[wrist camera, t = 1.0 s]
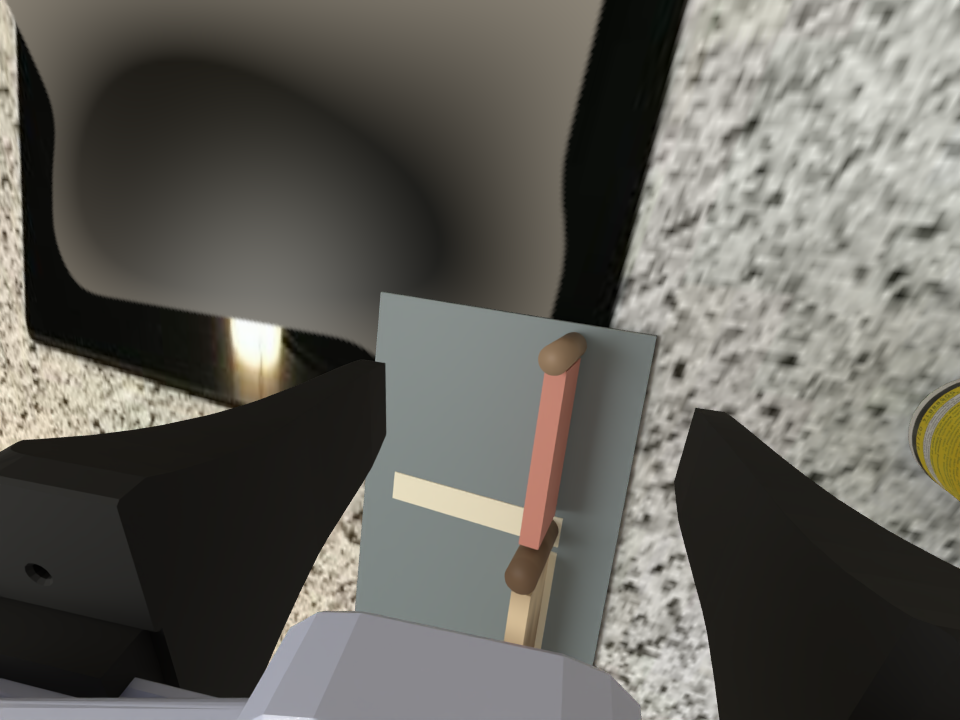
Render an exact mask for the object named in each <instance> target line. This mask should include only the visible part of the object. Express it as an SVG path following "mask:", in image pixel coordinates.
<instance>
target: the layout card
mask: <svg viewBox="0 0 960 720" xmlns="http://www.w3.org/2000/svg"><path fill="white" fill-rule="evenodd" d="M570 332H577V333H579V334H581V335H582V336H583V337H584V338H585V340H586V342H587V349H586V351H585V353H584V354H583V355H582V356H581V357H580V358H581V360H580V366H579V372H578V378H577V384H576V391H575V397H574V403H573V409H572V415H571V421H570V427H569V433H568V439H567V445H566V451H565V457H564V463H563V469H562V475H561V481H560V487H559V493H558V499H557V505H556V511H555V516H554V518H553V520H554V521H555V522H556V524H557V526H558V529H559V533H558V536H557V538H556V541H555V543H554V545H553V548H552V550H551V552H550V555H549V561H548V567H547V573H546V579H545V585H544V591H543V597H542V603H541V609H540V615H539V621H538V627H537V633H536V639H535V645H534V648H538V649H543V650H547V651H552V652H557V653H562V654H565V655H567V656H570V657H572V658H574V659H577V660H579V661H582V662H584V663H587V664H589V665H592V666H593V661H594V656H595V651H596V646H597V640H598V635H599V630H600V625H601V620H602V615H603V610H604V604H605V599H606V594H607V589H608V584H609V579H610V574H611V569H612V563H613V558H614V553H615V548H616V543H617V538H618V533H619V527H620V522H621V517H622V512H623V507H624V502H625V497H626V492H627V486H628V481H629V476H630V471H631V466H632V461H633V456H634V450H635V445H636V440H637V435H638V430H639V425H640V420H641V415H642V409H643V404H644V399H645V394H646V389H647V384H648V379H649V373H650V368H651V363H652V358H653V353H654V348H655V343H656V338H657V336H656V335H650V334H644V333H637V332H631V331H625V330H619V329H613V328H606V327H600V326H594V325H588V324H581V323H575V322H569V321H563V320H557V319H550V318H544V317H537V316H532V315H525V314H519V313H513V312H507V311H501V310H495V309H488V308H482V307H476V306H470V305H463V304H457V303H450V302H445V301H439V300H433V299H426V298H420V297H414V296H408V295H402V294H395V293H389V292H381V297H380V310H379V322H378V334H377V347H376V359H375V362H382V363H386V437H385V439H384V441H383V444H382V446H381V449H380V451H379V453H378V455H377V458H376V460H375V462H374V464H373V466H372V468H371V470H370V472H369V473H368V475H367V477H366V482H365V494H364V506H363V519H362V531H361V543H360V555H359V568H358V580H357V592H356V605H355V611H361V612H369V613H373V614H378V615H383V616H388V617H392V618H397V619H402V620H406V621H411V622H416V623H420V624H425V625H430V626H435V627H439V628H444V629H449V630H453V631H458V632H463V633H468V634H472V635H477V636H482V637H486V638H491V639H496V640H500V641H504V637H505V630H506V624H507V617H508V610H509V604H510V597H511V591H512V590H511V589H510V588H509V587H508V586H507V584H506V582H505V577H504V575H505V571H506V569H507V567H508V565H509V564H510V562H511V560H512V558H513V556H514V555H515V553H516V551H517V549H518V547H519V546H520V544H519V538H520V531H521V524H522V518H523V511H524V505H525V498H526V491H527V485H528V478H529V472H530V465H531V458H532V452H533V445H534V439H535V432H536V425H537V419H538V412H539V406H540V399H541V392H542V386H543V379H544V373H545V372H543V371H542V369H541V368H540V366H539V363H538V356H539V353H540V351H541V350H542V349H543V348H544V347H545V346H547V345H549V344H550V343H552V342H554V341H555V340H557V339H559V338H561V337H562V336H564V335H566V334H567V333H570Z"/></svg>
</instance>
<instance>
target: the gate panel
mask: <svg viewBox="0 0 960 720" xmlns="http://www.w3.org/2000/svg"><path fill="white" fill-rule="evenodd" d="M586 349H587V342H586V340H585V338H584V337H583V336H582V335H581V334H579V333H577V332H570V333H567V334H566V335H564V336H562V337H561V338H559V339H557V340H555V341H554V342H552V343H550V344H549V345H547V346H545V347H544V348H543V349H542V350H541V351H540V353H539V356H538V363H539V366H540V368H541V369H542V371H543V372H545V373H544V379H543V386H542V392H541V399H540V406H539V412H538V419H537V425H536V432H535V439H534V445H533V452H532V458H531V465H530V472H529V478H528V485H527V491H526V498H525V505H524V511H523V518H522V524H521V531H520V538H519V544H520V545H523V546H526V547H530V548H533V549H536V550H538V549H539V547H540V545H541V543H542V541H543V539H544V537H545V535H546V532H547V530H548V528H549V526H550V524H551V522H552V520H553V518H554V516H555V511H556V505H557V499H558V493H559V487H560V481H561V475H562V469H563V463H564V457H565V451H566V445H567V439H568V433H569V427H570V421H571V415H572V409H573V403H574V397H575V391H576V384H577V378H578V372H579V366H580V360H581V358H580V357H581V356H582V355H583V354H584V353H585V351H586Z"/></svg>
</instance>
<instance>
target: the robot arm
mask: <svg viewBox="0 0 960 720" xmlns="http://www.w3.org/2000/svg"><path fill="white" fill-rule="evenodd" d="M385 437H386V363H382V362H375V361H368V360H358V361H355V362H352V363H349V364H347V365H344V366H342V367H339V368H337V369H334V370H332V371H330V372H328V373H325V374H323V375H321V376H318V377H316V378H314V379H311V380H309V381H306V382H304V383H302V384H299V385H297V386H295V387H292V388H289V389H287V390H284V391H281V392H279V393H276V394H274V395H271V396H268V397H266V398H263V399H261V400H258V401H255V402H252V403H249V404H246V405H242V406H239V407H236V408H232V409H229V410H225V411H222V412H218V413H215V414H211V415H207V416H202V417H198V418H193V419H188V420H184V421H179V422H174V423H170V424H165V425H160V426H154V427H148V428H142V429H136V430H129V431H121V432H113V433H106V434H97V435H87V436H74V437H61V438H48V439H34V440H22V441H19V442H17V443H15V444H13V445H11V446H10V447H8V448H6V449H4V450H3V451H1V452H0V720H642V719H641V710H640V705H639V704H638V703H637V702H636V701H635V700H634V699H633V697H632V696H631V695H630V694H629V693H628V692H627V691H626V690H625V689H624V688H623V687H622V686H621V685H620V684H619V683H618V682H617V681H616V680H615V679H614V678H613V677H612V676H611V675H610V674H608V673H607V672H606V671H604V670H602V669H599V668H597V667H594V666H592V665H589V664H587V663H584V662H582V661H579V660H577V659H574V658H572V657H570V656H567V655H565V654H562V653H557V652H552V651H547V650H543V649H538V648H533V647H529V646H524V645H519V644H515V643H510V642H505V641H500V640H496V639H491V638H486V637H482V636H477V635H472V634H468V633H463V632H458V631H453V630H449V629H444V628H439V627H435V626H430V625H425V624H420V623H416V622H411V621H406V620H402V619H397V618H392V617H388V616H383V615H378V614H373V613H369V612H361V611H322V612H317V613H316V614H314V615H312V616H310V617H308V618H307V619H305V620H303V621H301V622H299V623H298V624H296V625H294V626H292V627H290V629H289V630H288V632H287V634H286V635H285V637H284V639H283V641H282V642H281V644H280V646H279V648H278V649H277V651H276V653H275V655H274V656H273V658H272V660H271V662H270V663H269V661H270V658H271V656H272V654H273V651H274V649H275V647H276V644H277V642H278V639H279V637H280V635H281V633H282V630H283V628H284V626H285V624H286V622H287V619H288V617H289V615H290V613H291V611H292V609H293V606H294V604H295V602H296V600H297V598H298V595H299V593H300V591H301V589H302V587H303V585H304V583H305V581H306V579H307V577H308V575H309V573H310V571H311V569H312V566H313V564H314V562H315V560H316V558H317V556H318V554H319V553H320V551H321V549H322V547H323V546H324V544H325V542H326V540H327V538H328V537H329V535H330V534H331V532H332V531H333V529H334V527H335V526H336V524H337V523H338V521H339V519H340V518H341V516H342V515H343V513H344V512H345V510H346V508H347V507H348V505H349V504H350V502H351V501H352V499H353V497H354V496H355V494H356V493H357V491H358V489H359V488H360V486H361V485H362V483H363V481H364V480H365V478H366V477H367V475H368V473H369V472H370V470H371V468H372V466H373V464H374V462H375V460H376V458H377V455H378V453H379V451H380V449H381V446H382V444H383V441H384V439H385ZM674 484H675V494H676V504H677V512H678V520H679V524H680V528H681V532H682V536H683V540H684V544H685V548H686V552H687V555H688V559H689V563H690V567H691V570H692V574H693V578H694V582H695V585H696V589H697V593H698V596H699V600H700V604H701V608H702V611H703V616H704V621H705V625H706V630H707V635H708V642H709V648H710V655H711V661H712V668H713V675H714V681H715V689H716V697H717V704H718V712H719V720H960V569H959V568H957V567H955V566H953V565H951V564H949V563H947V562H945V561H943V560H941V559H939V558H938V557H936V556H934V555H932V554H930V553H928V552H926V551H924V550H923V549H921V548H919V547H917V546H915V545H913V544H911V543H910V542H908V541H906V540H904V539H902V538H900V537H899V536H897V535H895V534H893V533H892V532H890V531H888V530H886V529H885V528H883V527H881V526H880V525H878V524H876V523H875V522H873V521H872V520H870V519H868V518H867V517H865V516H864V515H862V514H860V513H859V512H857V511H856V510H854V509H852V508H851V507H849V506H848V505H846V504H845V503H843V502H842V501H840V500H839V499H837V498H836V497H834V496H833V495H831V494H830V493H829V492H827V491H826V490H824V489H823V488H822V487H820V486H819V485H817V484H816V483H815V482H813V481H812V480H811V479H809V478H808V477H806V476H805V475H804V474H802V473H801V472H800V471H799V470H797V469H796V468H795V467H793V466H792V465H791V464H789V463H788V462H787V461H786V460H784V459H783V458H782V457H781V456H779V455H778V454H777V453H776V452H774V451H773V450H772V449H771V448H770V447H768V446H767V445H766V444H765V443H763V442H762V441H761V440H760V439H759V438H757V437H756V436H755V435H754V434H753V433H751V432H750V431H749V430H748V429H746V428H745V427H744V426H743V425H741V424H740V423H739V422H738V421H736V420H735V419H734V418H732V417H731V416H730V415H728V414H727V413H725V412H720V411H713V410H706V409H699V408H695V412H694V415H693V419H692V422H691V425H690V429H689V432H688V436H687V439H686V443H685V446H684V450H683V453H682V457H681V460H680V463H679V467H678V470H677V474H676V477H675V481H674ZM268 663H269V665H268ZM267 665H268V667H267Z"/></svg>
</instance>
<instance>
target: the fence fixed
mask: <svg viewBox="0 0 960 720" xmlns="http://www.w3.org/2000/svg"><path fill="white" fill-rule="evenodd" d="M558 533H559V529H558V526H557V524H556V522H555V521H554V520H552V522H551V524H550V526H549V528H548V530H547V532H546V535H545V537H544V539H543V541H542V543H541V545H540V547H539V549H538V550H536V549H533V548H530V547H526V546H523V545H520V546H519V547H518V549H517V551H516V553H515V555H514V556H513V558H512V560H511V562H510V564H509V565H508V567H507V569H506V571H505V575H504V577H505V582H506V584H507V586H508V587H509V588H510V589H511V590H512V591H511V597H510V604H509V610H508V617H507V624H506V630H505V637H504V641H505V642H510V643H515V644H519V645H524V646H529V647H533V648H534V645H535V639H536V633H537V627H538V621H539V615H540V609H541V603H542V597H543V591H544V585H545V579H546V573H547V567H548V561H549V555H550V552H551V550H552V548H553V545H554V543H555V541H556V538H557V536H558Z"/></svg>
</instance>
